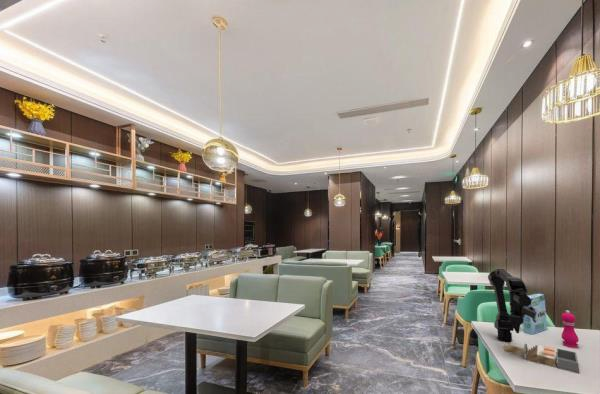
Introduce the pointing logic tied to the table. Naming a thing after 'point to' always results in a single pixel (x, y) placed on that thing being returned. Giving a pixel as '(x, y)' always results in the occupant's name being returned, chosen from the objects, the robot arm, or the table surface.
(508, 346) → the scraper
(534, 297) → the gum box
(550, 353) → the tile
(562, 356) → the box
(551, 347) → the tile
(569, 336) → the pepper mill
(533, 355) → the bench
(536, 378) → the table surface
